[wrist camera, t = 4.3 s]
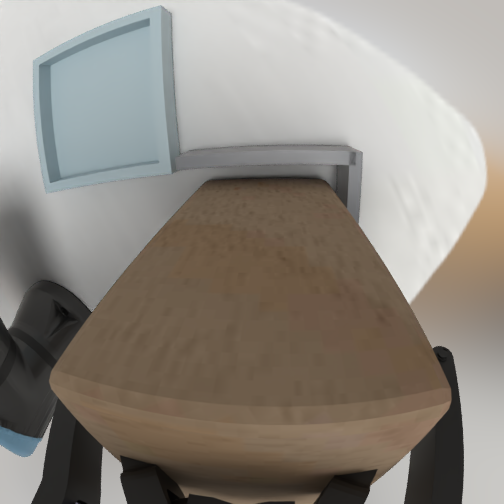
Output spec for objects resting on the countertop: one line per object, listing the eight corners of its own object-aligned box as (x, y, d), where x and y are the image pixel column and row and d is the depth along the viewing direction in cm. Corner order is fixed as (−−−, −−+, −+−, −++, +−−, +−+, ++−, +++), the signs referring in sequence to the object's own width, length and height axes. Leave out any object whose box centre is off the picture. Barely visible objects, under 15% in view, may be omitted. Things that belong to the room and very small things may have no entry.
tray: (60, 186, 25) (46, 193, 23) (48, 61, 18) (33, 60, 16) (181, 168, 24) (171, 174, 21) (171, 13, 17) (161, 5, 14)
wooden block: (204, 179, 23) (36, 379, 5) (326, 178, 22) (465, 400, 4) (215, 282, 27) (152, 491, 9) (319, 282, 26) (354, 501, 9)
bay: (209, 295, 30) (201, 319, 26) (190, 150, 23) (175, 157, 19) (337, 294, 28) (344, 319, 25) (348, 146, 22) (362, 152, 18)
